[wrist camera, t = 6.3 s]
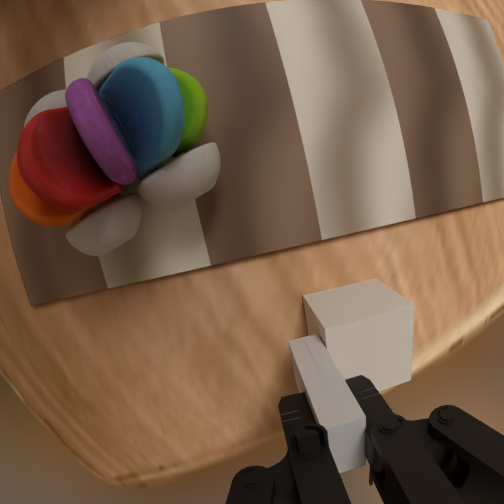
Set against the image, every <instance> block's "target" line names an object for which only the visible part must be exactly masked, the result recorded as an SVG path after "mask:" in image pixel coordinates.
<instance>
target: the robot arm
mask: <svg viewBox="0 0 504 504" xmlns="http://www.w3.org/2000/svg"><path fill="white" fill-rule="evenodd" d="M288 344H289V349H290V354H291V359H292V365H293V370H294V376H295V381H296V386H297V389H298V391H299V393H297V394H293V395H289V396H285V397H281V400H280V402H279V405H278V407H279V412H280V416H281V420H282V425H283V429H284V433H285V438H286V442H287V446H288V451H287V454H286V456H285V457H284V459H283V460H281V461H280V462H279V463H277V464H276V465H274V466H272V467H269V468H265V467H262V466H250V467H246V468H244V469H242V470H240V471H239V472H238V473H237V474H236V475H235V476H234V478H233V480H232V484H231V487H230V491H229V494H228V498H227V501H226V504H351V502H350V500H349V497H348V494H347V492H346V489H345V487H344V484H343V482H342V479H341V476H340V474H339V473H342V472H345V471H348V470H352V469H355V468H358V467H361V466H364V465H365V464H366V458H367V460H368V462H369V464H370V473H369V475H370V476H369V484H370V485H372V484H373V481H374V484H375V486H376V488H377V490H378V492H379V494H380V496H381V498H382V501H383V503H384V504H504V435H502V434H500V433H499V432H497V431H496V430H494V429H492V428H490V427H489V426H487V425H486V424H484V423H483V422H481V421H479V420H477V419H476V418H474V417H473V416H471V415H470V414H468V413H466V412H465V411H463V410H461V409H460V408H458V407H455V406H452V405H444V406H440V407H438V408H436V409H434V410H433V411H432V412H431V414H430V417H429V418H427V419H421V420H414V421H409V420H406V419H404V418H403V417H402V416H399V415H395V414H394V413H393V412H392V410H391V409H390V407H389V406H388V404H387V403H386V402H385V400H384V399H383V397H382V396H381V394H379V391H378V390H377V389H376V388H375V386H374V384H373V383H372V382H371V380H370V379H368V378H366V377H365V376H363V375H359V376H356V377H352V378H349V379H346V380H344V378H343V376H342V375H341V373H340V371H339V370H338V368H337V366H336V364H335V363H334V361H333V359H332V358H331V356H330V354H329V353H328V351H327V349H326V347H325V346H324V344H323V342H322V341H321V339H320V337H319V336H318V334H314V335H310V336H306V337H302V338H298V339H294V340H290V341H288Z"/></svg>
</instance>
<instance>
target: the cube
mask: <svg viewBox="0 0 504 504" xmlns="http://www.w3.org/2000/svg"><path fill="white" fill-rule="evenodd" d="M303 302H304V309H305V316H306V323H307V330H308V336H310V335H314V334H318V336H319V337H320V339H321V341H322V342H323V344H324V346H325V347H326V349H327V351H328V353H329V354H330V356H331V358H332V359H333V361H334V363H335V364H336V366H337V368H338V370H339V371H340V373H341V375H342V376H343V378H344V380H346V379H349V378H352V377H356V376H359V375H363V376H365V377H366V378H368V379H370V380H371V382H372V383H373V384H374V386H375V388H376V389H377V390H378V391H382V390H384V389H387V388H390V387H393V386H396V385H399V384H402V383H404V382H407V381H410V380H411V371H412V354H413V322H414V304H413V303H411V302H410V301H408V300H407V299H405V298H404V297H402V296H401V295H400V294H398V293H397V292H395V291H394V290H392V289H391V288H389V287H388V286H386V285H385V284H383V283H382V282H380V281H379V280H377V279H376V278H374V279H370V280H366V281H362V282H358V283H354V284H349V285H345V286H341V287H337V288H332V289H328V290H324V291H319V292H315V293H310V294H306V295H303Z"/></svg>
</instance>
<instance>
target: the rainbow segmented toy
mask: <svg viewBox="0 0 504 504" xmlns="http://www.w3.org/2000/svg"><path fill="white" fill-rule="evenodd" d="M207 115H208V100H207V96H206V94H205V91H204V90H203V88H202V86H201V85H200V83H199V82H198V81H197V80H196V79H195V78H194V77H193V76H191V75H189V74H188V73H186V72H184V71H181V70H178V69H175V68H168V67H166V66H165V65H164V59H163V56H162V55H161V54H160V53H159V52H158V51H157V50H155V49H154V48H152V47H151V46H148V45H146V44H143V43H138V42H126V43H121V44H118V45H115V46H113V47H111V48H109V49H107V50H106V51H104V52H103V53H102V54H101V55H100V56H99V57H98V58H97V59H96V60H95V61H94V63H93V64H92V66H91V68H90V70H89V72H88V76H87V79H86V78H79V79H77V80H75V81H73V82H72V83H70V85H69V86H68V87H67V89H66V90H59V91H55V92H52V93H50V94H48V95H46V96H44V97H43V98H41V99H40V100H39V101H38V102H37V103H36V104H35V105H34V106H33V107H32V109H31V110H30V112H29V114H28V116H27V118H26V120H25V124H24V129H23V131H22V133H21V135H20V137H19V141H18V146H17V152H16V153H15V155H14V158H13V160H12V163H11V166H10V170H9V179H8V186H9V193H10V197H11V200H12V202H13V204H14V205H15V207H16V208H17V209H18V211H19V212H20V213H21V214H22V215H23V216H25V217H26V218H27V219H29V220H31V221H32V222H34V223H37V224H40V225H43V226H52V227H55V226H63V225H68V224H71V228H70V229H69V230H68V232H67V233H66V238H67V240H68V241H69V243H70V244H71V245H72V246H73V247H75V248H76V249H77V250H79V251H80V252H82V253H85V254H87V255H91V256H103V255H105V254H107V253H109V252H110V251H112V250H113V249H115V248H117V247H118V246H120V245H122V244H123V243H125V242H126V241H128V240H130V239H131V238H133V237H134V236H135V234H136V233H137V230H138V228H139V225H140V221H141V202H140V198H139V195H137V194H135V193H131V194H130V195H125V196H121V195H120V194H119V192H121V191H122V190H123V186H124V185H130V184H132V183H133V182H134V181H135V180H136V179H137V178H138V179H139V180H140V181H139V184H138V186H137V190H138V192H139V193H140V195H141V196H142V197H143V198H144V199H146V200H147V201H148V202H150V203H151V204H153V205H155V206H158V207H161V208H164V209H178V208H180V207H182V206H184V205H186V204H187V203H189V202H191V201H192V200H194V199H196V198H198V197H199V196H201V195H203V194H204V193H206V192H208V191H209V190H211V189H212V188H213V187H214V185H215V183H216V181H217V178H218V175H219V172H220V155H219V150H218V147H217V145H216V143H208V144H204V145H202V146H199V147H197V148H195V149H193V150H191V151H189V152H187V153H185V154H183V155H182V156H179V155H180V154H182V153H184V152H186V151H188V150H189V149H191V148H193V147H194V146H195V145H196V144H197V143H198V142H199V140H200V138H201V135H202V133H203V131H204V128H205V125H206V121H207ZM177 156H179V157H177Z"/></svg>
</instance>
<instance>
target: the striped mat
mask: <svg viewBox="0 0 504 504" xmlns="http://www.w3.org/2000/svg"><path fill="white" fill-rule="evenodd" d="M126 42H138V43H143V44H146V45H148V46H151V47H152V48H154V49H155V50H157V51H158V52H159V53H160V54H161V55H162V56H163V59H164V65H165V66H166V67H168V68H175V69H178V70H181V71H184V72H186V73H188V74H189V75H191V76H193V77H194V78H195V79H196V80H197V81H198V82H199V83H200V85H201V86H202V88H203V90H204V91H205V94H206V96H207V100H208V115H207V121H206V125H205V128H204V131H203V133H202V135H201V138H200V140H199V142H198V143H197V144H196V145H195V146H194V147H193V148H191V149H189V150H188V151H186V152H184V153H182V154H180V155H179V156H182V155H183V154H185V153H187V152H189V151H191V150H193V149H195V148H197V147H199V146H202V145H204V144H208V143H216V145H217V147H218V150H219V155H220V172H219V175H218V178H217V181H216V183H215V185H214V187H213V188H212V189H211V190H209V191H208V192H206V193H204V194H203V195H201V196H199V197H198V198H196V199H194V200H192V201H191V202H189V203H187V204H186V205H184V206H182V207H180V208H178V209H164V208H161V207H158V206H155V205H153V204H151V203H150V202H148V201H147V200H146V199H144V198H143V197H142V196H141V195H140V193H139V192H138V190H137V186H138V184H139V181H140V180H139V179H138V178H137V179H136V180H135V181H134V182H133V183H132V184H130V185H124V186H123V190H122V191H121V192H119V194H120V195H121V196H125V195H130V194H131V193H135V194H137V195H139V198H140V202H141V221H140V225H139V228H138V230H137V233H136V234H135V236H134V237H133V238H131V239H130V240H128V241H126V242H125V243H123V244H122V245H120V246H118V247H117V248H115V249H113V250H112V251H110V252H109V253H107V254H105V255H103V256H91V255H87V254H85V253H82V252H80V251H79V250H77V249H76V248H75V247H73V246H72V245H71V244H70V243H69V241H68V240H67V238H66V233H67V232H68V230H69V229H70V228H71V224H68V225H63V226H55V227H52V226H43V225H40V224H37V223H34V222H32V221H31V220H29V219H27V218H26V217H25V216H23V215H22V214H21V213H20V212H19V211H18V209H17V208H16V207H15V205H14V204H13V202H12V200H11V197H10V193H9V186H8V179H9V170H10V166H11V163H12V160H13V158H14V155H15V153H16V152H17V146H18V141H19V137H20V135H21V133H22V131H23V129H24V124H25V120H26V118H27V116H28V114H29V112H30V110H31V109H32V107H33V106H34V105H35V104H36V103H37V102H38V101H39V100H40V99H41V98H43V97H44V96H46V95H48V94H50V93H52V92H55V91H59V90H66V89H67V87H68V86H69V85H70V83H72V82H73V81H75V80H77V79H79V78H86V79H87V76H88V72H89V70H90V68H91V66H92V64H93V63H94V61H95V60H96V59H97V58H98V57H99V56H100V55H101V54H102V53H103V52H104V51H106V50H107V49H109V48H111V47H113V46H115V45H118V44H121V43H126ZM179 156H177V157H179ZM0 192H1V198H2V203H3V208H4V213H5V217H6V222H7V226H8V231H9V235H10V239H11V243H12V247H13V250H14V254H15V258H16V261H17V264H18V268H19V271H20V274H21V278H22V281H23V284H24V287H25V290H26V293H27V296H28V299H29V301H30V304H31V306H33V305H37V304H42V303H46V302H51V301H55V300H60V299H64V298H69V297H73V296H78V295H82V294H87V293H91V292H96V291H100V290H105V289H109V288H114V287H118V286H123V285H127V284H131V283H136V282H140V281H145V280H149V279H154V278H158V277H163V276H167V275H171V274H176V273H180V272H185V271H189V270H193V269H198V268H202V267H207V266H211V265H215V264H220V263H224V262H229V261H233V260H237V259H242V258H246V257H250V256H255V255H259V254H264V253H268V252H272V251H277V250H281V249H285V248H290V247H294V246H298V245H303V244H307V243H311V242H316V241H320V240H324V239H329V238H333V237H337V236H342V235H346V234H350V233H355V232H359V231H363V230H368V229H372V228H376V227H381V226H385V225H389V224H393V223H398V222H402V221H406V220H411V219H415V218H419V217H423V216H428V215H432V214H436V213H440V212H445V211H449V210H453V209H457V208H462V207H466V206H470V205H474V204H479V203H483V202H487V201H491V200H496V199H500V198H504V63H503V60H502V57H501V54H500V51H499V48H498V46H497V43H496V40H495V37H494V35H493V32H492V30H491V27H490V25H489V22H488V20H485V19H482V18H478V17H474V16H470V15H466V14H461V13H457V12H452V11H448V10H442V9H437V8H431V7H425V6H419V5H412V4H404V3H396V2H386V1H373V0H288V1H275V2H265V3H256V4H248V5H241V6H234V7H228V8H222V9H216V10H211V11H206V12H201V13H196V14H191V15H187V16H183V17H179V18H175V19H171V20H167V21H163V22H159V23H156V24H152V25H149V26H146V27H142V28H139V29H136V30H133V31H130V32H127V33H124V34H121V35H118V36H115V37H112V38H110V39H107V40H104V41H102V42H99V43H96V44H94V45H91V46H89V47H87V48H84V49H82V50H79V51H77V52H75V53H72V54H70V55H68V56H66V57H64V58H61V59H59V60H57V61H55V62H53V63H51V64H49V65H47V66H45V67H43V68H41V69H39V70H37V71H35V72H33V73H31V74H30V75H28V76H26V77H24V78H22V79H20V80H19V81H17V82H15V83H13V84H12V85H10V86H8V87H7V88H5V89H3V90H2V91H0Z"/></svg>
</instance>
